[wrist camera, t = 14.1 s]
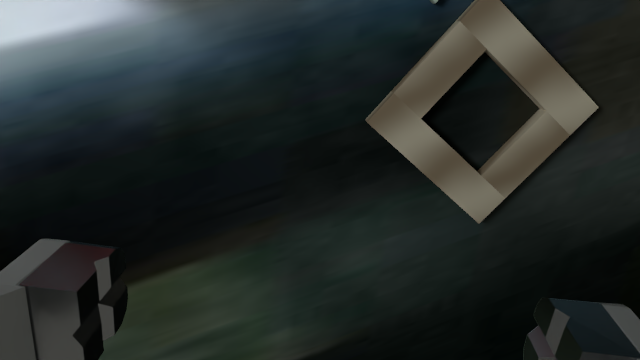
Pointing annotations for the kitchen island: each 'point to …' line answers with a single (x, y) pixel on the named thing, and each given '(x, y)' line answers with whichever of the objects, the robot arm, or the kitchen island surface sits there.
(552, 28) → the kitchen island surface
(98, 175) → the kitchen island surface
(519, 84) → the slot block
